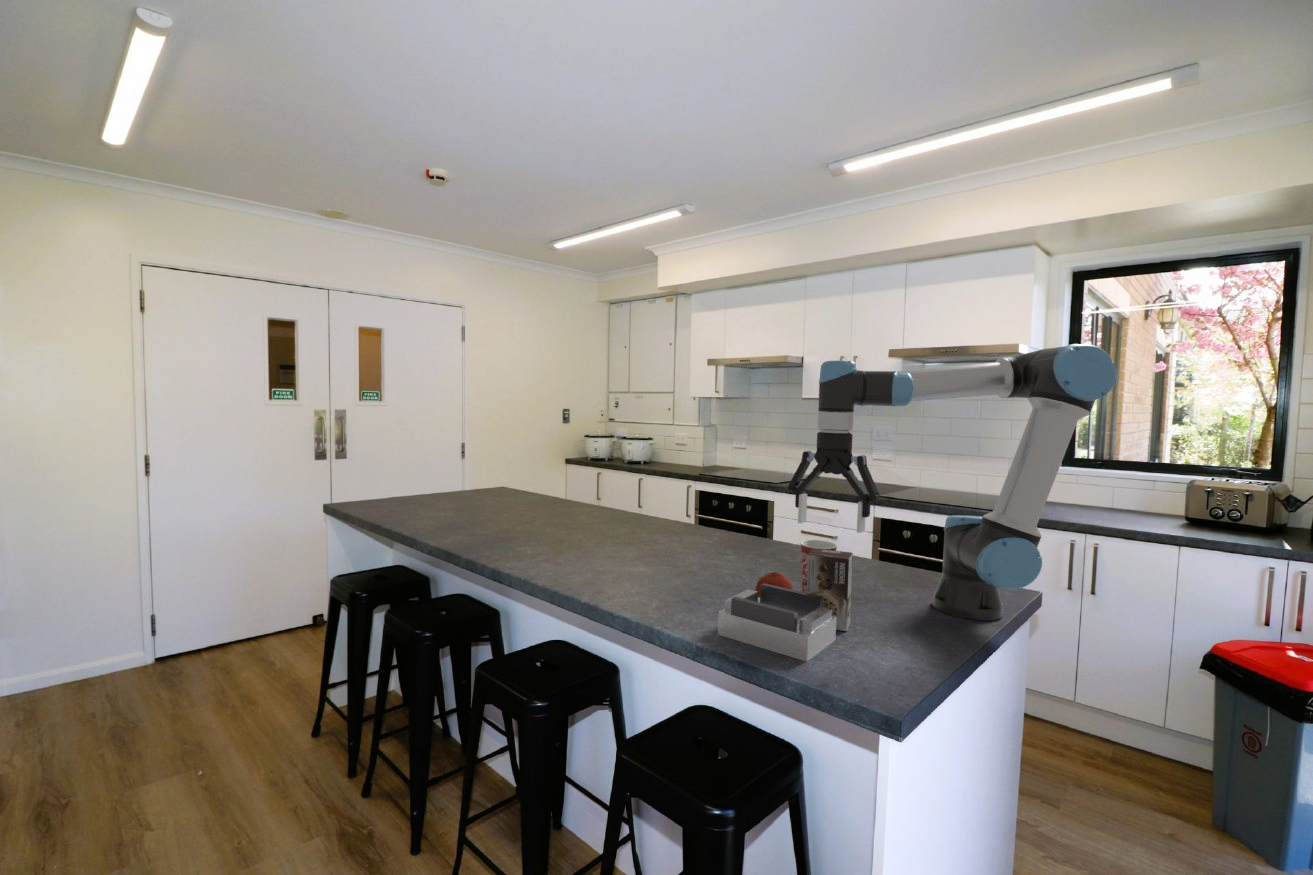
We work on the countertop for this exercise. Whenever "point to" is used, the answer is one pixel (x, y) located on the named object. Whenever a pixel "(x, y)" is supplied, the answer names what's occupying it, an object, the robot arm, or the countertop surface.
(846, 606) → the coffee box
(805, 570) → the mug
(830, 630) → the grey tray box
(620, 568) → the countertop surface
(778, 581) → the fruit
